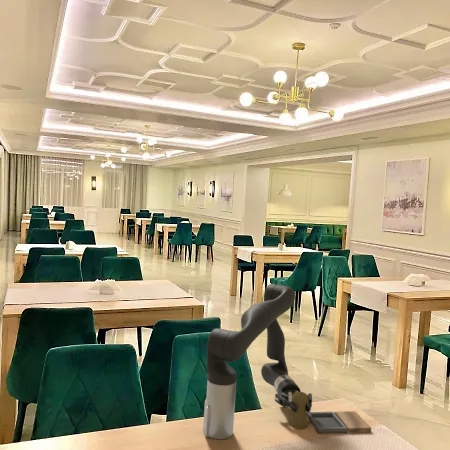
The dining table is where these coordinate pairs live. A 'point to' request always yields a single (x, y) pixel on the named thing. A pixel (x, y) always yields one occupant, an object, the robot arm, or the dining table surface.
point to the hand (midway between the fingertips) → (302, 409)
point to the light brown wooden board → (353, 421)
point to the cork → (299, 411)
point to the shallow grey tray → (326, 422)
